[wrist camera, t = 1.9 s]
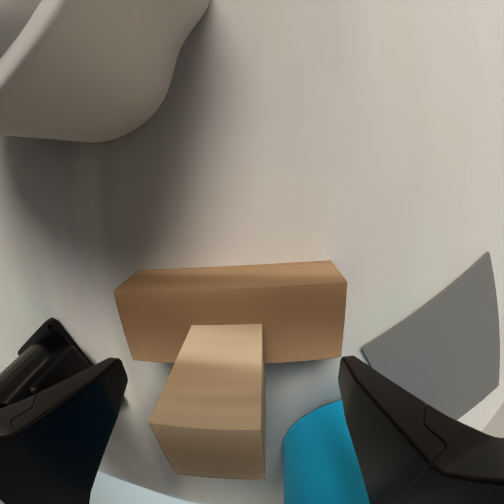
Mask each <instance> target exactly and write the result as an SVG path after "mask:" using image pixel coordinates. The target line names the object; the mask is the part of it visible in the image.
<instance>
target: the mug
mask: <svg viewBox="0 0 504 504" xmlns="http://www.w3.org/2000/svg"><path fill="white" fill-rule="evenodd" d="M283 452H284V504H370V502H369V498H368V495H367V491H366V487H365V484H364V480H363V477H362V473H361V470H360V467H359V463H358V460H357V456H356V453H355V450H354V446H353V443H352V440H351V437H350V433H349V430H348V427H347V424H346V420H345V415H344V409H343V403H342V400H340V401H337V402H334V403H331V404H329V405H326V406H323V407H320V408H319V409H317V410H315V411H313V412H311V413H310V414H308V415H306V416H304V417H302V418H301V419H300V420H299V421H298V422H297V423H296V424H294V425H293V426H292V427H291V428H290V429H289V430H288V432H287V434H286V436H285V438H284V440H283Z"/></svg>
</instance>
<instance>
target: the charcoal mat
mask: <svg viewBox="0 0 504 504" xmlns="http://www.w3.org/2000/svg"><path fill="white" fill-rule="evenodd" d="M361 349H362V350H363V352H364V354H365V356H366V358H367V359H368V361H369V363H370V365H371V367H372V368H373V369H375V370H376V371H378V372H379V373H381V374H382V375H384V376H385V377H387V378H388V379H390V380H391V381H393V382H394V383H396V384H397V385H399V386H400V387H402V388H404V389H405V390H407V391H408V392H410V393H411V394H413V395H414V396H416V397H418V398H419V399H421V400H422V401H424V402H425V403H426V404H429V405H430V406H432V407H433V408H435V409H437V410H438V411H440V412H442V413H443V414H445V415H447V416H449V417H451V418H453V419H455V420H458V419H459V418H460V417H462V416H463V415H464V414H466V413H467V412H468V411H469V410H471V409H472V408H473V407H474V406H476V405H477V404H478V403H479V402H481V401H482V400H483V399H484V398H485V397H486V396H488V395H489V394H490V393H491V392H492V391H493V390H494V389H495V388H497V387H498V385H499V366H500V338H499V318H498V306H497V297H496V289H495V282H494V275H493V269H492V264H491V259H490V254H489V252H486V253H485V254H484V255H483V256H482V257H481V258H480V259H479V260H478V261H477V262H476V263H474V264H473V265H472V266H471V267H470V268H469V269H468V270H467V271H465V272H464V273H463V274H462V275H461V276H460V277H459V278H457V279H456V280H455V281H454V282H453V283H451V284H450V285H449V286H448V287H447V288H445V289H444V290H443V291H442V292H440V293H439V294H438V295H437V296H435V297H434V298H433V299H431V300H430V301H429V302H427V303H426V304H425V305H423V306H422V307H421V308H419V309H418V310H417V311H415V312H414V313H413V314H411V315H410V316H408V317H407V318H405V319H404V320H403V321H401V322H400V323H398V324H397V325H395V326H394V327H392V328H391V329H389V330H388V331H386V332H385V333H383V334H382V335H380V336H379V337H377V338H375V339H374V340H372V341H371V342H369V343H367V344H366V345H364V346H362V347H361Z"/></svg>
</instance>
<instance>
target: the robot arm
mask: <svg viewBox="0 0 504 504" xmlns="http://www.w3.org/2000/svg"><path fill="white" fill-rule="evenodd" d="M18 355H19V357H18V358H17V359H16V360H14V361H13V362H12V363H11V364H10V365H9V366H8V367H7V368H6V369H5V370H4V371H3V372H1V373H0V504H89V500H90V493H91V489H92V486H93V483H94V480H95V477H96V474H97V471H98V469H99V466H100V463H101V460H102V457H103V454H104V452H105V449H106V446H107V443H108V441H109V438H110V435H111V433H112V430H113V428H114V425H115V423H116V420H117V417H118V414H119V411H120V407H121V406H122V404H123V402H124V398H123V396H124V393H125V389H126V386H127V381H128V378H127V374H126V372H125V369H124V366H123V364H122V361H121V360H120V359H119V358H108V359H106V360H104V361H102V362H100V363H98V364H96V365H94V366H93V365H92V364H91V363H90V361H89V360H88V359H87V358H86V357H85V356H84V354H83V353H82V352H81V351H80V350H79V348H78V347H77V346H76V345H75V343H74V342H73V341H72V340H71V338H70V337H69V336H68V334H67V333H66V332H65V331H64V329H63V328H62V327H61V325H60V324H59V322H58V321H57V320H56V319H54V318H49V319H48V320H47V321H46V322H45V323H44V324H43V325H42V326H41V327H40V328H39V329H38V330H37V331H36V332H35V333H34V334H33V335H32V336H31V338H30V339H29V340H28V341H27V342H26V343H25V344H24V345H23V346H22V347H21V349H20V350H19V351H18ZM338 381H339V387H340V393H341V398H342V403H343V409H344V415H345V420H346V424H347V427H348V430H349V433H350V437H351V440H352V443H353V446H354V450H355V453H356V456H357V460H358V463H359V467H360V470H361V473H362V477H363V480H364V484H365V487H366V491H367V495H368V498H369V502H370V504H504V438H497V437H493V436H490V435H487V434H485V433H483V432H481V431H478V430H476V429H474V428H472V427H469V426H467V425H465V424H463V423H461V422H459V421H457V420H455V419H453V418H451V417H449V416H447V415H445V414H443V413H442V412H440V411H438V410H437V409H435V408H433V407H432V406H430V405H429V404H426V403H425V402H424V401H422V400H421V399H419V398H418V397H416V396H414V395H413V394H411V393H410V392H408V391H407V390H405V389H404V388H402V387H400V386H399V385H397V384H396V383H394V382H393V381H391V380H390V379H388V378H387V377H385V376H384V375H382V374H381V373H379V372H378V371H376V370H375V369H373V368H372V367H370V366H369V365H367V364H366V363H364V362H363V361H361V360H360V359H358V358H357V357H355V356H346V357H342V358H341V361H340V368H339V376H338Z"/></svg>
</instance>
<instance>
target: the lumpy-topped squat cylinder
mask: <svg viewBox="0 0 504 504" xmlns="http://www.w3.org/2000/svg"><path fill="white" fill-rule="evenodd" d="M210 1H211V0H0V136H16V137H31V138H44V139H54V140H64V141H79V142H105V141H110V140H114V139H117V138H119V137H122V136H124V135H126V134H128V133H130V132H132V131H134V130H135V129H137V128H138V127H140V126H141V125H143V124H144V123H145V122H146V121H147V120H149V119H150V118H151V117H152V116H153V115H154V113H155V112H156V111H157V110H158V108H159V107H160V106H161V104H162V102H163V100H164V99H165V97H166V94H167V92H168V89H169V87H170V83H171V80H172V76H173V72H174V68H175V64H176V61H177V57H178V54H179V52H180V49H181V47H182V45H183V43H184V41H185V40H186V38H187V37H188V35H189V34H190V32H191V31H192V29H193V28H194V27H195V26H196V24H197V23H198V22H199V20H200V19H201V18H202V16H203V15H204V13H205V12H206V10H207V8H208V6H209V4H210Z"/></svg>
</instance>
